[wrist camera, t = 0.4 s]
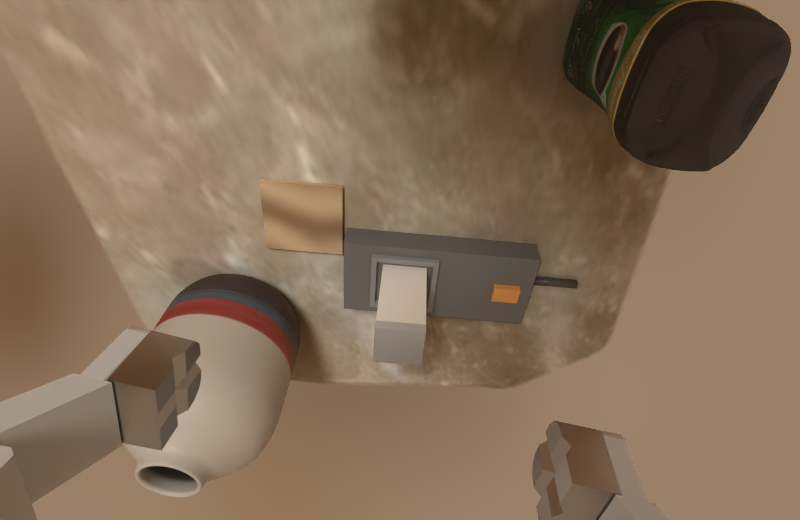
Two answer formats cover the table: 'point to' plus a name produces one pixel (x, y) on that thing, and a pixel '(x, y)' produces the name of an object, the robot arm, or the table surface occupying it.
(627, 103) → the coffee jar
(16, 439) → the robot arm
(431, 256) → the power strip
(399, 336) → the block
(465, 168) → the table surface
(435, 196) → the table surface
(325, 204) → the coaster
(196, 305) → the vase
